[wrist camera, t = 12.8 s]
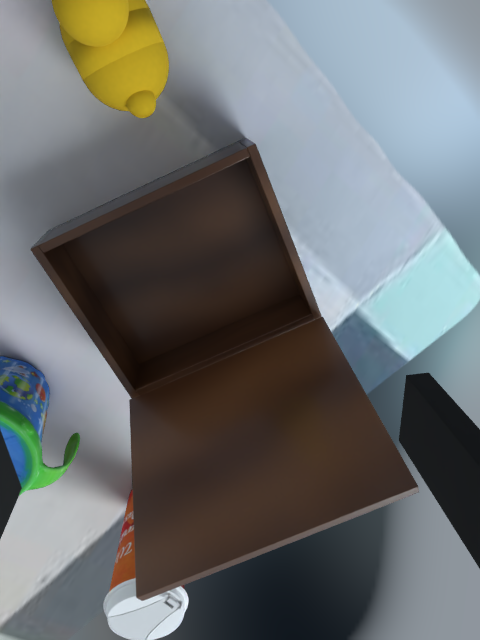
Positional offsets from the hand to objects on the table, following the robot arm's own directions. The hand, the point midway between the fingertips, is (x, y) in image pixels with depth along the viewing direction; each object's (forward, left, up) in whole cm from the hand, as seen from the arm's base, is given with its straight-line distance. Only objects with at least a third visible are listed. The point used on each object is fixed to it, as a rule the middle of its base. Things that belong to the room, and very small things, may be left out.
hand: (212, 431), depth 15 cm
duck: (-14, +1, -28) cm, 31 cm away
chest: (+3, -2, -28) cm, 28 cm away
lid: (+13, -2, -14) cm, 19 cm away
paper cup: (+27, -18, -28) cm, 43 cm away
